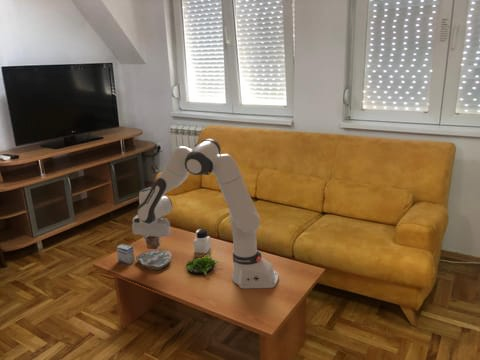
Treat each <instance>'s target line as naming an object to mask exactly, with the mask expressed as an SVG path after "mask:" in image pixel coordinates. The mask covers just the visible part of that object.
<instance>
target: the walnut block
mask: <svg viewBox="0 0 480 360" xmlns="http://www.w3.org/2000/svg"><path fill="white" fill-rule="evenodd" d="M157 239H159V238H158V236H152V235H147V238H146V242H145V243H146V249H147V250H158V248H159V247H160V245H161V242H160V243H157Z"/></svg>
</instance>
